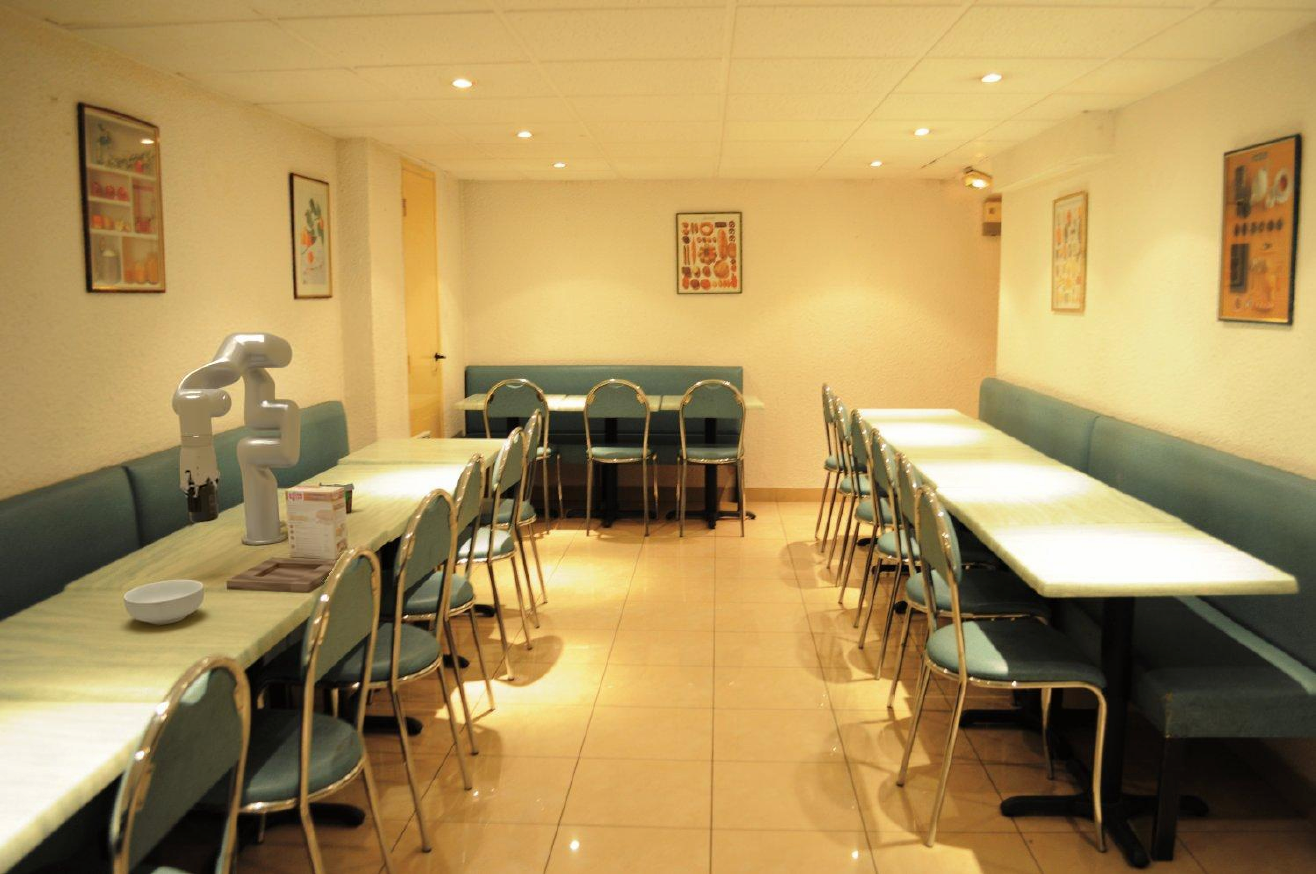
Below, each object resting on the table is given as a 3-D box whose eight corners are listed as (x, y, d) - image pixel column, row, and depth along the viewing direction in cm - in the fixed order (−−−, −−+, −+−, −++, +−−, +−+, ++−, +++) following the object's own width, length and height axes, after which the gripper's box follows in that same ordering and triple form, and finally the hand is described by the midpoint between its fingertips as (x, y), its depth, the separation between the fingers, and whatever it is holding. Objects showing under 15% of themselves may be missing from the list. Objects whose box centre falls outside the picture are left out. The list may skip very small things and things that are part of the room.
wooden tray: (272, 565, 283) (272, 557, 282) (348, 568, 279) (347, 560, 279) (227, 589, 261) (226, 580, 261) (308, 592, 258) (307, 584, 257)
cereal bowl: (150, 607, 248) (147, 579, 247) (218, 607, 247) (216, 579, 246) (111, 631, 231) (108, 601, 230) (184, 631, 230) (181, 601, 229)
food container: (312, 515, 341) (310, 485, 340) (321, 511, 347) (319, 482, 346) (347, 516, 339) (345, 486, 338) (355, 512, 345) (354, 483, 344)
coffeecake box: (349, 554, 294) (345, 486, 291) (335, 560, 287) (331, 491, 284) (303, 550, 298) (299, 484, 295) (288, 557, 291) (284, 489, 288)
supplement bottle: (212, 514, 275) (208, 470, 273) (222, 519, 270) (218, 474, 268) (185, 519, 270) (181, 474, 268) (196, 524, 265) (191, 478, 263)
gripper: (203, 434, 275) (209, 500, 279) (162, 447, 259) (169, 516, 262) (229, 435, 274) (235, 500, 277) (190, 447, 257) (196, 517, 261)
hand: (203, 507), depth 270 cm, fingers closed on supplement bottle, 6 cm apart
